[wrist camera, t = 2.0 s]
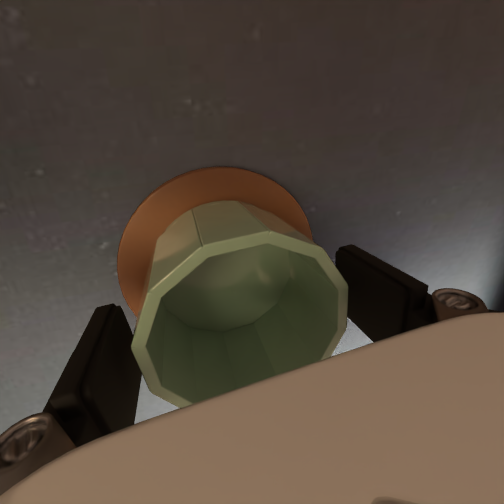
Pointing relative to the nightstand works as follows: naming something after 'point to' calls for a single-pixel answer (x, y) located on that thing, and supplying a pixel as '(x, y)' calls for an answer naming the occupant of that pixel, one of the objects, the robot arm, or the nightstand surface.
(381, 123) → the nightstand surface
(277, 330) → the bowl
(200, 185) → the plate
